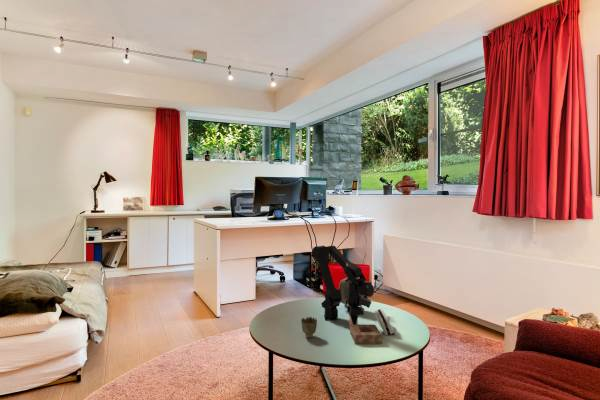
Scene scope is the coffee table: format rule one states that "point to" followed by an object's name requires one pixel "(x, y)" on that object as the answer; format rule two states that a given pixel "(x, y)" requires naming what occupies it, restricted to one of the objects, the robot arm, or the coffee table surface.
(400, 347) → the coffee table surface
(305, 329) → the cup
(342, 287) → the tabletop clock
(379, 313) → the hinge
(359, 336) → the hole block
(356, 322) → the peg
